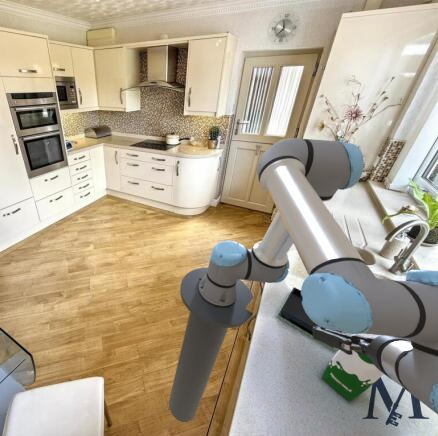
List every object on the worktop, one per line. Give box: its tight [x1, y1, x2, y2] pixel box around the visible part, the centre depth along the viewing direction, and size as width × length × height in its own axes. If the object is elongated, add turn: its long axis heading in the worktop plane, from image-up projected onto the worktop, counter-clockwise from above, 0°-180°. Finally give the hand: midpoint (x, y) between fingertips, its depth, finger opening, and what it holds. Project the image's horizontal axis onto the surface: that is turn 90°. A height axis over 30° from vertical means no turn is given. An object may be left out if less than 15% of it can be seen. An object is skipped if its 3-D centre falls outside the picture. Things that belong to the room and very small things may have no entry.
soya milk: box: [321, 334, 384, 403], centre depth 63 cm, size 9×9×20 cm
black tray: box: [276, 286, 343, 352], centre depth 84 cm, size 18×16×11 cm
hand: (350, 330), depth 59 cm, fingers open, 13 cm apart
